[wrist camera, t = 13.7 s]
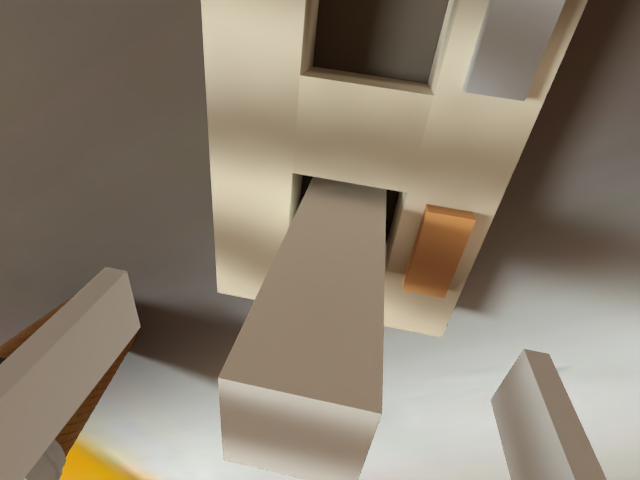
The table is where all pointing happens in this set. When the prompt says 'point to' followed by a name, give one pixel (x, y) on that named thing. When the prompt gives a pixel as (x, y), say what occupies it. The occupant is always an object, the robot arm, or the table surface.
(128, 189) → the table surface
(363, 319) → the plug
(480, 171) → the socket plate
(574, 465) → the robot arm
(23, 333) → the disposable coffee cup
